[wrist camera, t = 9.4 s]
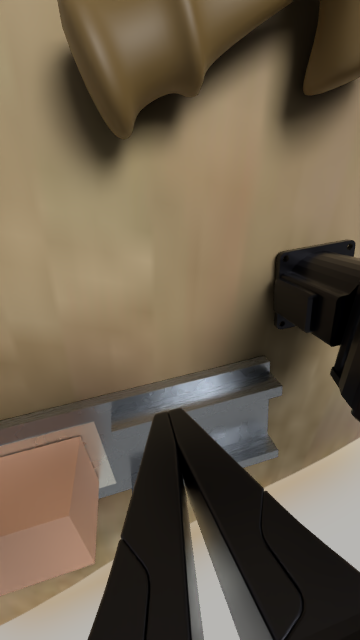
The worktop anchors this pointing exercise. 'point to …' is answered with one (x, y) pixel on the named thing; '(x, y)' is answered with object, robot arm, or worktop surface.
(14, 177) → the worktop surface
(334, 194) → the worktop surface
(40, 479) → the block
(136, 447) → the chute
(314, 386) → the worktop surface
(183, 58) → the kendama
